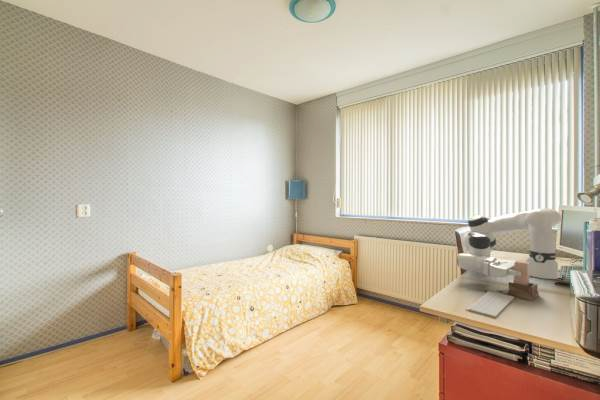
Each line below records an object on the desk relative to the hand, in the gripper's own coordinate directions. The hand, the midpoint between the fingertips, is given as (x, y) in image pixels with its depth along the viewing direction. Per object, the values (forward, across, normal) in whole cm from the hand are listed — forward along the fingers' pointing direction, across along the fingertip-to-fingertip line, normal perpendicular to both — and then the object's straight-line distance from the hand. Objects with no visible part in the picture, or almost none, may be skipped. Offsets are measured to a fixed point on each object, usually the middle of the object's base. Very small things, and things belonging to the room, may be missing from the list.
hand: (524, 272), depth 138 cm
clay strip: (-1, 0, -10) cm, 10 cm away
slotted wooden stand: (0, 0, -11) cm, 11 cm away
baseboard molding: (-6, +24, -12) cm, 28 cm away
